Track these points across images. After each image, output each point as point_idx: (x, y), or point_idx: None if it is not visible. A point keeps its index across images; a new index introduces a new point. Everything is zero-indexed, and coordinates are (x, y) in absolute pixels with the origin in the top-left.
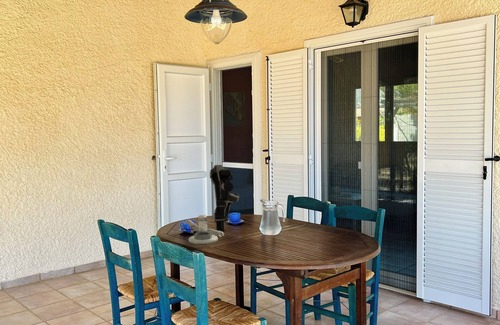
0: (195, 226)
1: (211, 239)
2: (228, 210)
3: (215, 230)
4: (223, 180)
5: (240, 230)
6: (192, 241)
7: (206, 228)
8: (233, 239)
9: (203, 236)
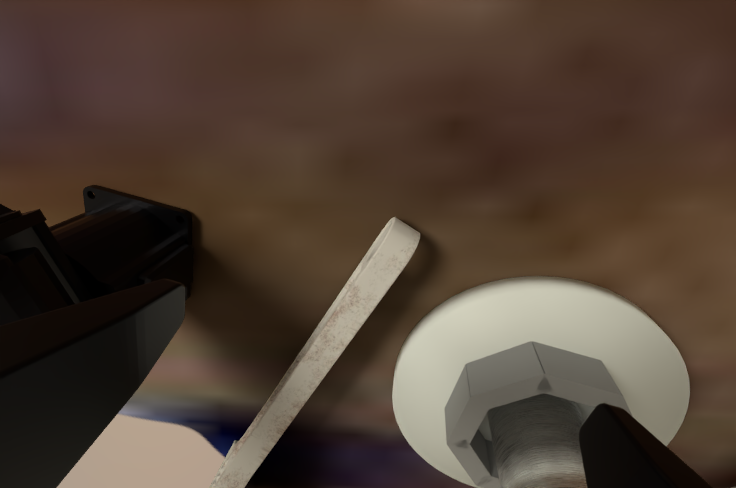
0: (246, 483)
1: (635, 348)
2: (99, 343)
3: (343, 321)
4: None
5: (95, 3)
6: None
7: None
8: (586, 95)
9: None
